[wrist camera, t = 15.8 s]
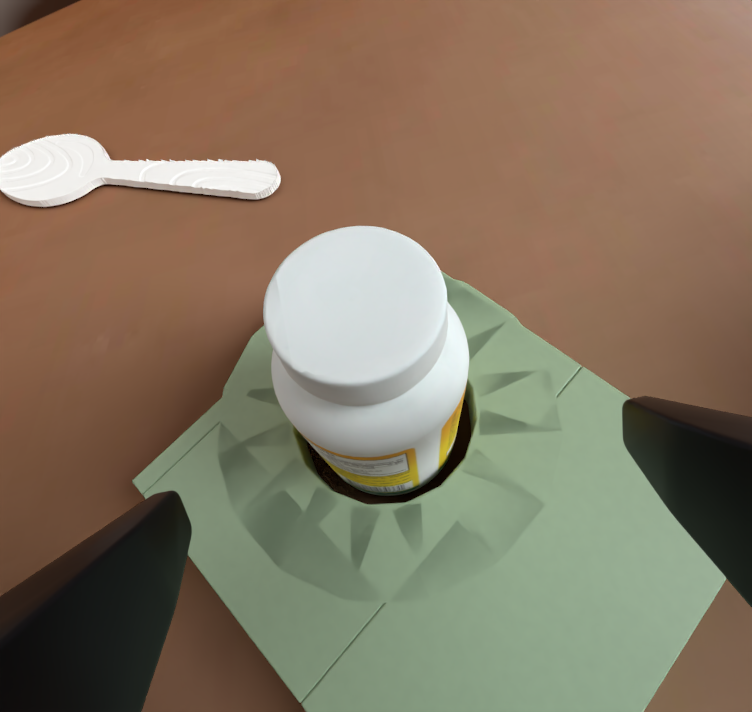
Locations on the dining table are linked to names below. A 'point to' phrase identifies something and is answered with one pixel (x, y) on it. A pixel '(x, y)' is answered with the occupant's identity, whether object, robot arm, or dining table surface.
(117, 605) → the robot arm
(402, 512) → the holder plate
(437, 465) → the supplement bottle
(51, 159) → the spoon
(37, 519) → the dining table surface
